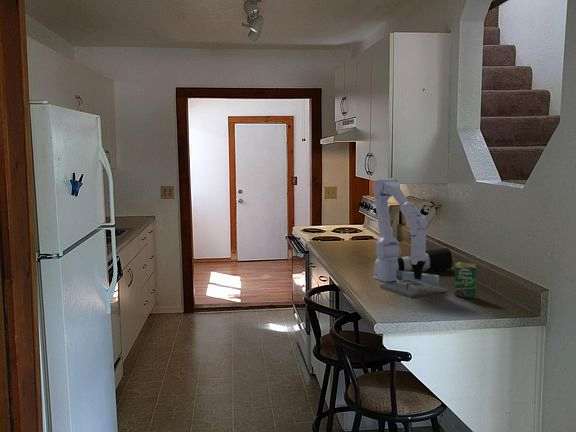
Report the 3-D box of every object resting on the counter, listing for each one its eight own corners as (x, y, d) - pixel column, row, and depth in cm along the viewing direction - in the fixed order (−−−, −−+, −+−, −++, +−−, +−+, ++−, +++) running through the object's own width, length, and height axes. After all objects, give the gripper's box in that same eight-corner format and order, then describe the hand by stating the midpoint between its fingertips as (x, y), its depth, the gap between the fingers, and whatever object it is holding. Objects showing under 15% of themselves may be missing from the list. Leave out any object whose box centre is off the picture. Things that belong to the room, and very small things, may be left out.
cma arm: (394, 278, 223) (394, 271, 222) (397, 276, 225) (397, 270, 225) (436, 283, 214) (436, 276, 213) (438, 281, 216) (439, 275, 216)
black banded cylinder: (378, 280, 252) (374, 259, 255) (447, 271, 255) (442, 251, 258) (382, 275, 243) (378, 253, 246) (454, 265, 245) (449, 245, 249)
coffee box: (453, 295, 208) (454, 262, 207) (455, 294, 211) (456, 261, 209) (474, 299, 204) (476, 265, 203) (476, 297, 207) (478, 263, 205)
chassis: (380, 287, 221) (380, 280, 221) (414, 281, 230) (415, 274, 230) (410, 297, 206) (411, 290, 205) (446, 291, 215) (446, 284, 215)
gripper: (424, 249, 208) (423, 283, 209) (432, 243, 221) (431, 276, 222) (406, 247, 211) (405, 282, 212) (414, 242, 224) (414, 274, 225)
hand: (417, 279), depth 217 cm, fingers closed, pressing on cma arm
